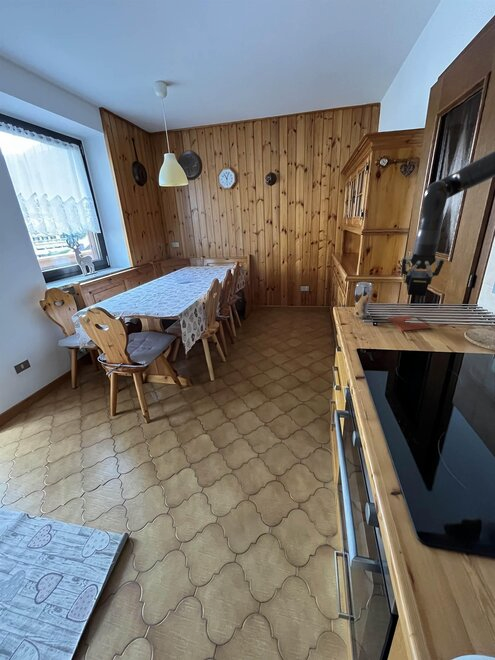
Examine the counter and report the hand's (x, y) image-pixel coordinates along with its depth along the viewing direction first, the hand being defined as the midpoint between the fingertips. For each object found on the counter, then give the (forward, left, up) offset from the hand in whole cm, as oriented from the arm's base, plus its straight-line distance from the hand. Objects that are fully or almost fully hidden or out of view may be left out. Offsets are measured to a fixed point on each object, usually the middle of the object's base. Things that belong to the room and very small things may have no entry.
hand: (416, 284), depth 112 cm
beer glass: (+15, -13, -18) cm, 27 cm away
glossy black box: (0, 0, -3) cm, 3 cm away
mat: (-1, -1, -18) cm, 18 cm away
